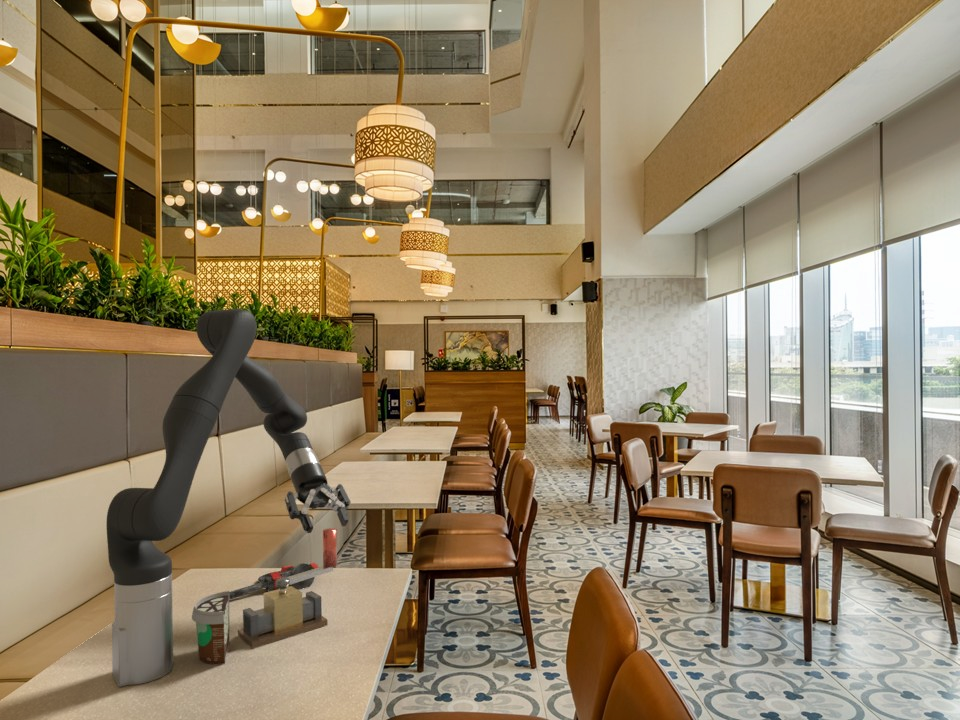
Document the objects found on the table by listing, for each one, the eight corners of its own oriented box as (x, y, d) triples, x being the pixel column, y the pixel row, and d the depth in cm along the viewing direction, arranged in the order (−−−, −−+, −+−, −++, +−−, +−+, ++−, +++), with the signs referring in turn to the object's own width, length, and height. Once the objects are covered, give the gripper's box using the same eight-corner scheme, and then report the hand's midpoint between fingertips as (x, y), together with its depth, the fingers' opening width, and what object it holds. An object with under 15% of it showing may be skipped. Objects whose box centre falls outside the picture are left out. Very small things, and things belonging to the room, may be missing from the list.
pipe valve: (252, 648, 119) (251, 602, 119) (237, 635, 125) (237, 591, 125) (327, 625, 129) (326, 582, 130) (310, 614, 135) (310, 573, 136)
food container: (197, 644, 122) (196, 593, 122) (230, 639, 123) (229, 589, 124) (187, 673, 110) (186, 617, 110) (224, 667, 112) (223, 612, 112)
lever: (280, 589, 125) (280, 544, 126) (272, 586, 127) (272, 542, 127) (339, 570, 137) (339, 529, 137) (331, 567, 139) (331, 527, 139)
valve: (304, 577, 167) (329, 582, 156) (205, 607, 150) (225, 615, 139) (301, 553, 168) (326, 557, 157) (202, 580, 151) (222, 587, 140)
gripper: (281, 464, 140) (303, 523, 131) (337, 458, 149) (362, 512, 140) (272, 485, 144) (293, 543, 135) (328, 477, 153) (351, 531, 144)
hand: (328, 527), depth 138 cm, fingers open, 8 cm apart
